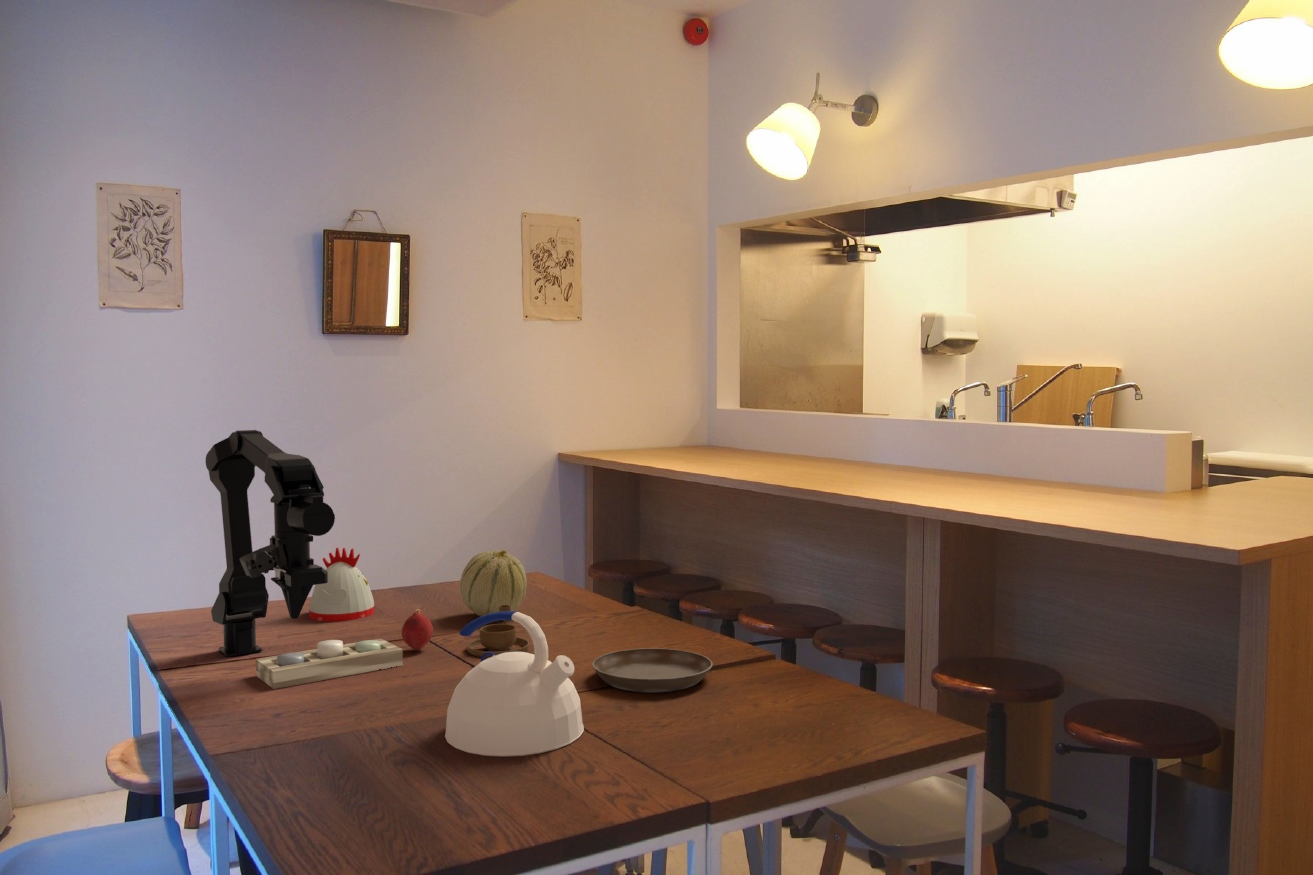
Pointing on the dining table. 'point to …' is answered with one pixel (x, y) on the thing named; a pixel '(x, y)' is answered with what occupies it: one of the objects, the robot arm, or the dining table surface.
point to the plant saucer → (652, 669)
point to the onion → (417, 630)
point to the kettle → (514, 699)
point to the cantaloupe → (493, 582)
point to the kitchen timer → (342, 591)
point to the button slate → (290, 659)
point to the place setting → (498, 638)
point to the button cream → (329, 649)
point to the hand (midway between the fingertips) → (294, 618)
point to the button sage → (367, 646)
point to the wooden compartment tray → (328, 665)
